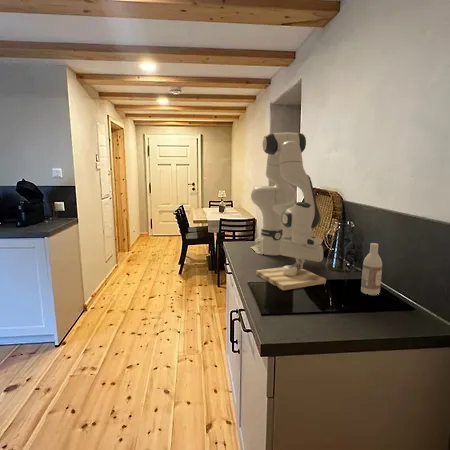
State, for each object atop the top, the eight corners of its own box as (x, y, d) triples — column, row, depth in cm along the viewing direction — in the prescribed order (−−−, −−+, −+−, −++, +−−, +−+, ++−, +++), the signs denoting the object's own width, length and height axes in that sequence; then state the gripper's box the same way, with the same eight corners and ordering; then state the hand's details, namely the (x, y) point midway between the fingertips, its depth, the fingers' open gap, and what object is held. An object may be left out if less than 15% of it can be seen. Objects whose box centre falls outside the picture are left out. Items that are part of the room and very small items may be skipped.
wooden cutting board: (256, 274, 152) (256, 270, 152) (295, 269, 161) (295, 264, 161) (283, 290, 133) (283, 285, 132) (325, 283, 142) (326, 278, 141)
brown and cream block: (293, 276, 142) (293, 268, 142) (280, 274, 146) (281, 266, 145) (304, 269, 153) (304, 262, 152) (292, 267, 156) (292, 260, 156)
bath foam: (373, 297, 127) (377, 246, 123) (357, 291, 132) (361, 243, 129) (383, 293, 130) (388, 244, 127) (367, 288, 136) (371, 241, 133)
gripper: (278, 236, 153) (277, 265, 155) (319, 242, 141) (318, 273, 143) (284, 234, 158) (283, 262, 160) (325, 240, 145) (323, 270, 148)
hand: (300, 267), depth 151 cm, fingers closed
